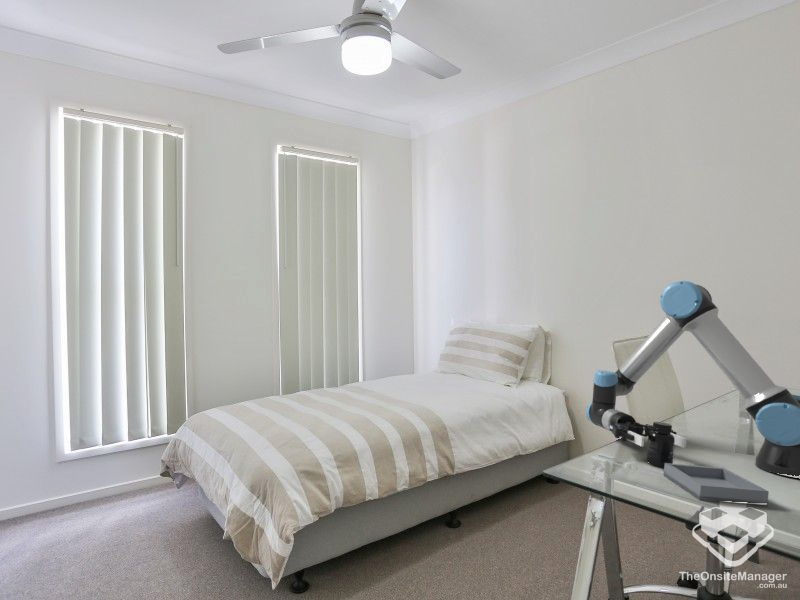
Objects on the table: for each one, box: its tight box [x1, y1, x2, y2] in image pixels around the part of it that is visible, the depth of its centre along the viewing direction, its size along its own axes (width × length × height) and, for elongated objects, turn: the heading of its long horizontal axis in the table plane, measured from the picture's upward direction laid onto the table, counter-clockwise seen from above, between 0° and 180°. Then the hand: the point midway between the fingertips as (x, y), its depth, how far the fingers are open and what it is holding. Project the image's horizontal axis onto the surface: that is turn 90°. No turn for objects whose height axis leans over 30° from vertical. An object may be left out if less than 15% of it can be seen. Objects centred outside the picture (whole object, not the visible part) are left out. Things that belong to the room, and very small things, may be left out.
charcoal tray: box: [663, 463, 769, 503], centre depth 123 cm, size 16×16×4 cm
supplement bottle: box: [645, 421, 675, 469], centre depth 141 cm, size 7×7×12 cm
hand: (664, 442), depth 139 cm, fingers open, 13 cm apart
